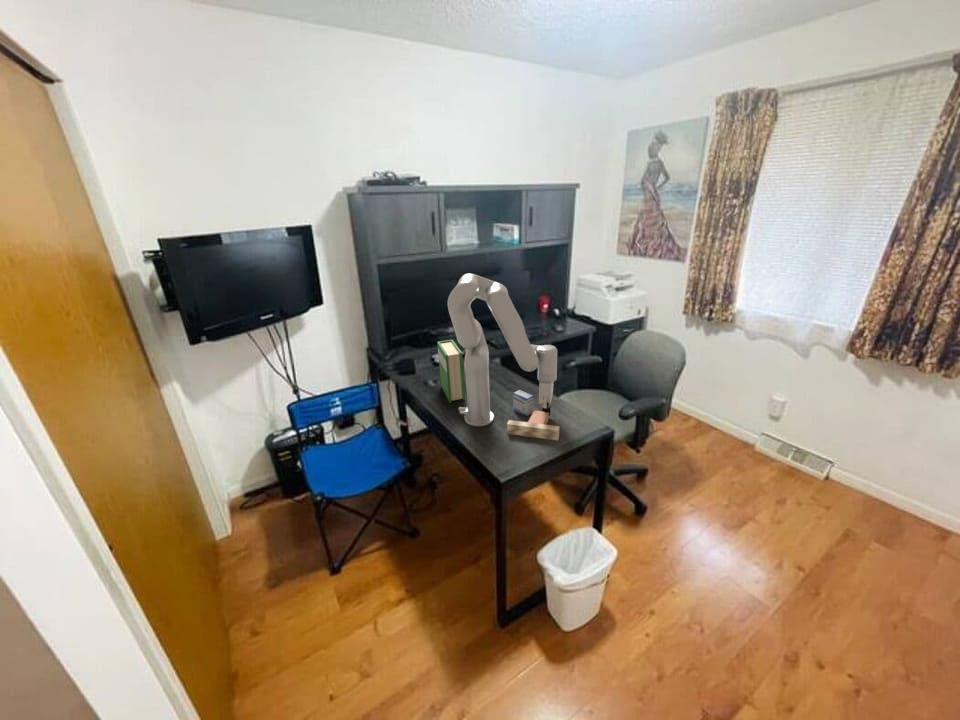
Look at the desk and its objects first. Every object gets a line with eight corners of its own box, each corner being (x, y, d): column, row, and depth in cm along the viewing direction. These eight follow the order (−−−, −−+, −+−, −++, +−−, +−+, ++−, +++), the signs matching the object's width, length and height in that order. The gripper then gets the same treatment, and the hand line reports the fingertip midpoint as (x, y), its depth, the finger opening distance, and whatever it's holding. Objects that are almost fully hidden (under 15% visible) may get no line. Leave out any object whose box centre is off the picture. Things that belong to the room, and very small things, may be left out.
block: (527, 431, 153) (527, 422, 152) (534, 418, 162) (534, 410, 160) (542, 434, 151) (542, 425, 150) (548, 420, 160) (548, 412, 158)
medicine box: (512, 410, 168) (512, 392, 165) (519, 406, 171) (519, 389, 168) (526, 416, 163) (527, 398, 160) (533, 412, 166) (533, 395, 162)
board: (507, 433, 152) (507, 424, 150) (508, 429, 155) (508, 420, 153) (558, 440, 147) (558, 430, 145) (559, 436, 149) (559, 426, 148)
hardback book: (465, 400, 178) (462, 352, 168) (449, 403, 176) (445, 355, 167) (455, 383, 194) (452, 339, 184) (441, 386, 192) (437, 341, 182)
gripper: (540, 367, 161) (539, 404, 169) (535, 383, 148) (534, 423, 156) (558, 368, 159) (557, 406, 167) (554, 384, 146) (553, 425, 154)
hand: (546, 414), depth 161 cm, fingers closed
